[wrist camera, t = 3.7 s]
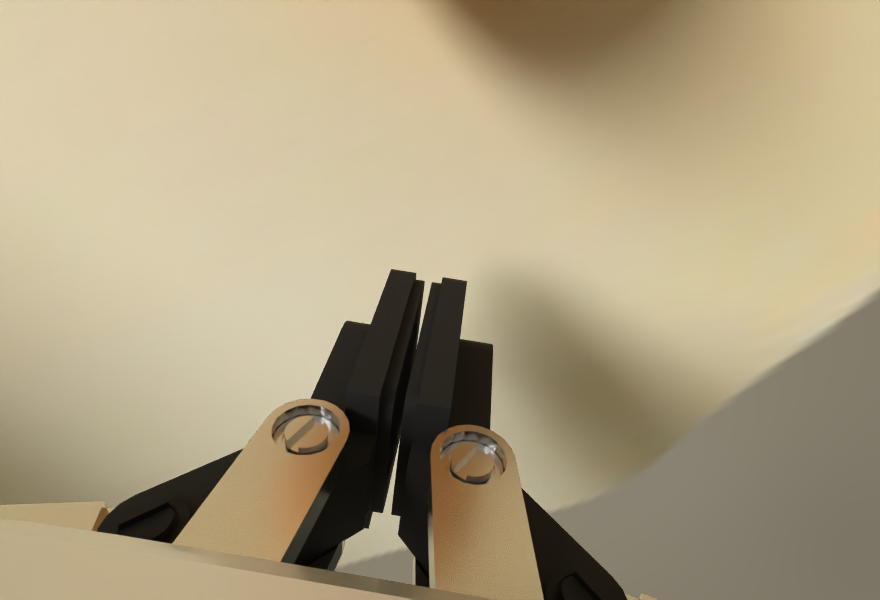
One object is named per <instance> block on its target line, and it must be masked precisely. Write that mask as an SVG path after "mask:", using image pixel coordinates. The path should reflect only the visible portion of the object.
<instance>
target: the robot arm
mask: <svg viewBox="0 0 880 600" xmlns="http://www.w3.org/2000/svg"><path fill="white" fill-rule="evenodd" d="M466 285H467V281H462V280H456V279H450V278H444V277H443V279H442V283H441V284H440V283H434V282H432V285H431V289H430V293H429V298H428V302H427V306H426V311H425V315H424V319H423V323H422V328H421V332H420V336H419V341H418V345H417V340H418V332H419V324H420V316H421V308H422V300H423V292H424V281H421V280H416V273H412V272H406V271H400V270H393V269H391V271H390V274H389V277H388V279H387V282H386V285H385V287H384V290H383V293H382V295H381V298H380V301H379V303H378V306H377V309H376V312H375V314H374V317H373V320H372V322H371V325H370V324H364V323H358V322H351V321H346V322H345V323H344V325H343V327H342V329H341V331H340V334H339V336H338V338H337V340H336V343H335V345H334V347H333V349H332V352H331V354H330V356H329V358H328V361H327V363H326V365H325V367H324V370H323V372H322V374H321V376H320V379H319V381H318V383H317V385H316V388H315V390H314V392H313V394H312V397H311V399H299V400H296V401H292V402H289V403H286V404H284V405H282V406H281V407H279V408H277V409H275V410H274V411H273V412H272V413H271V414H270V415H269V416H268V417H267V419H266V420H265V421H264V422H263V424H262V425H261V426H260V428H259V429H258V430H257V432H256V433H255V434H254V436H253V437H252V438H251V440H250V441H249V442H248V444H247V445H246V446H245V448H244V449H241V450H239V451H237V452H234V453H232V454H230V455H227V456H225V457H223V458H220V459H218V460H216V461H213V462H211V463H209V464H206V465H204V466H202V467H199V468H197V469H195V470H192V471H190V472H188V473H186V474H183V475H181V476H179V477H176V478H174V479H172V480H169V481H167V482H165V483H162V484H160V485H158V486H155V487H153V488H151V489H148V490H146V491H144V492H141V493H139V494H137V495H135V496H133V497H131V498H129V499H128V500H126V501H124V502H122V503H120V504H119V505H118V506H117V507H108V508H107V507H106V504H105V501H89V502H63V503H37V504H10V505H0V600H658V599H656V598H653V597H651V596H648V595H646V594H643V593H642V594H641V595H640V597H639V599H638V598H635V597H633V596H630V595H628V594H625V593H624V591H623V589H622V588H621V587H620V586H619V585H618V583H617V582H616V581H615V580H614V578H613V577H612V576H611V575H610V574H609V573H608V572H607V571H606V570H605V569H604V568H603V567H602V566H601V565H600V564H599V563H598V562H597V561H596V560H595V559H594V558H593V557H592V556H591V555H590V554H589V553H587V552H586V551H585V550H584V549H583V548H582V547H581V546H580V545H579V544H578V543H577V542H576V541H575V540H574V539H573V538H572V537H571V536H570V535H569V534H568V533H567V532H566V531H565V530H564V529H563V528H562V527H561V526H560V525H559V524H558V523H557V522H556V521H555V520H554V519H553V518H552V517H551V516H550V515H549V514H548V513H547V512H546V511H545V510H544V509H542V508H541V507H540V506H539V505H538V504H537V503H536V502H535V501H534V500H533V499H532V498H531V497H530V496H529V495H528V494H527V493H526V492H525V491H524V490H523V489H522V488H521V483H520V478H519V473H518V469H517V464H516V459H515V456H514V453H513V451H512V448H511V447H510V446H509V445H508V443H507V442H506V441H505V440H504V439H503V438H502V437H500V436H499V435H498V434H496V433H495V432H493V431H491V430H490V417H491V390H492V363H493V345H492V344H487V343H481V342H475V341H469V340H463V339H460V333H461V325H462V317H463V309H464V301H465V293H466ZM416 348H417V349H416ZM399 439H400V444H399ZM398 444H399V452H398V461H397V470H396V478H395V487H394V495H393V504H392V513H391V515H397V516H400V523H399V531H398V535H399V537H400V538H401V539H402V541H403V542H404V543H405V544H406V546H407V547H408V548H409V550H410V551H411V552H412V554H413V555H414V558H413V564H412V585H411V584H405V583H399V582H393V581H388V580H381V579H376V578H370V577H364V576H358V575H353V574H347V573H341V572H336V571H334V570H335V568H336V566H337V564H338V561H339V559H340V557H341V555H342V552H343V548H344V544H345V540H346V539H348V538H349V537H351V536H353V535H354V534H356V533H358V532H359V531H361V530H363V529H364V528H368V529H369V525H370V521H371V517H372V512H379V513H383V510H384V506H385V502H386V497H387V493H388V488H389V484H390V479H391V475H392V470H393V466H394V462H395V457H396V453H397V448H398Z"/></svg>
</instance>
